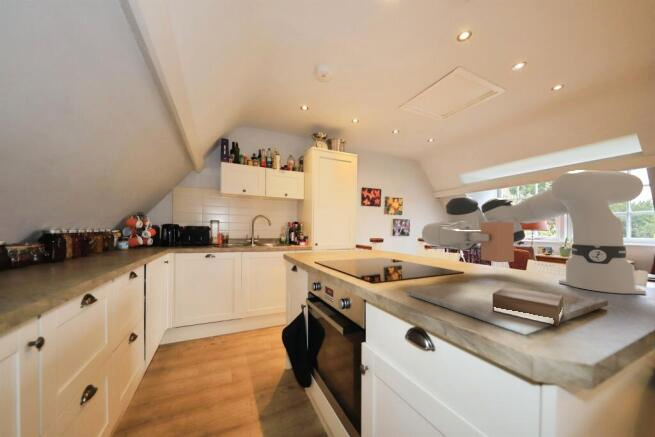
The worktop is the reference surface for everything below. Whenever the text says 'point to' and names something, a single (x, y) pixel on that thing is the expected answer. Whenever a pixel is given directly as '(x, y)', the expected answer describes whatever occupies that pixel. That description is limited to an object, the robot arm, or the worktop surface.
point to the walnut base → (529, 302)
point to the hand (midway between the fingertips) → (499, 237)
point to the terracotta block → (498, 242)
